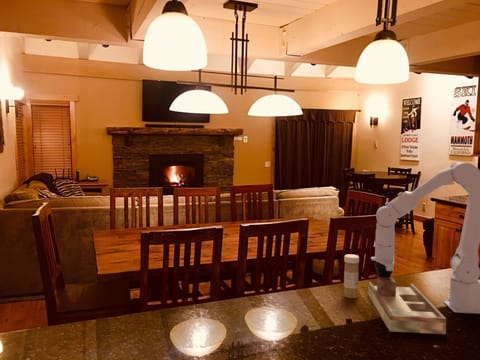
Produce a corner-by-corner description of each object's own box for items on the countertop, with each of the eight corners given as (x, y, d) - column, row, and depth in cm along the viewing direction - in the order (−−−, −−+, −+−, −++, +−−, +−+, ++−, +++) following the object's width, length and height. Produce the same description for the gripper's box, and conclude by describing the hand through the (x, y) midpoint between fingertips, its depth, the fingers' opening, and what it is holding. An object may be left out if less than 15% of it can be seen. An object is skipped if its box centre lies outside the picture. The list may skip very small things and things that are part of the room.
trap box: (412, 296, 128) (412, 283, 127) (445, 334, 102) (446, 318, 102) (368, 294, 129) (368, 282, 129) (389, 331, 104) (390, 315, 103)
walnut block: (391, 291, 124) (392, 277, 124) (395, 296, 120) (396, 282, 119) (377, 290, 125) (377, 276, 124) (380, 296, 120) (381, 281, 120)
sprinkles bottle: (351, 292, 131) (352, 253, 130) (361, 297, 127) (362, 256, 126) (340, 294, 129) (341, 254, 128) (349, 299, 125) (351, 258, 124)
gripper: (367, 238, 132) (365, 278, 133) (377, 250, 118) (375, 294, 119) (388, 239, 131) (387, 279, 133) (401, 250, 117) (399, 295, 118)
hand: (383, 286), depth 126 cm, fingers closed
